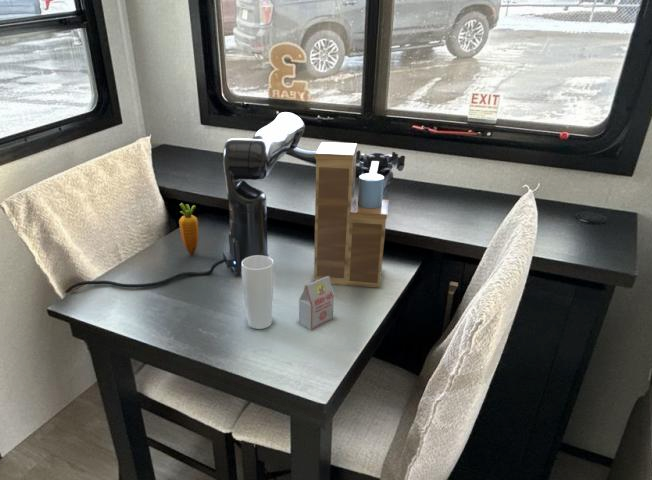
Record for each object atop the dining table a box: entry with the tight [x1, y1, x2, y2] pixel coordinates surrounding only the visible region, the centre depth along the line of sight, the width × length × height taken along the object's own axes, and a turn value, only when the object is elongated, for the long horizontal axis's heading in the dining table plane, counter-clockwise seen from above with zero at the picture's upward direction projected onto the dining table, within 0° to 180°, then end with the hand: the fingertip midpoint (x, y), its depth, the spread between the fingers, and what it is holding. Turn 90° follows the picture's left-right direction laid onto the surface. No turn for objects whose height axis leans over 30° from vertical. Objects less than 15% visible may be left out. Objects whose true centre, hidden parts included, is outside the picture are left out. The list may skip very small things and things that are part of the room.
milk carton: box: [298, 276, 335, 331], centre depth 118 cm, size 4×7×10 cm, turn 129°
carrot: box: [178, 202, 199, 257], centre depth 146 cm, size 5×5×15 cm
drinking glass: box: [241, 255, 275, 330], centre depth 116 cm, size 7×7×15 cm
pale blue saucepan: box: [357, 161, 384, 208], centre depth 132 cm, size 18×6×7 cm, turn 167°
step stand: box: [313, 141, 390, 289], centre depth 130 cm, size 10×16×32 cm, turn 77°
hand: (375, 154), depth 135 cm, fingers open, 8 cm apart
